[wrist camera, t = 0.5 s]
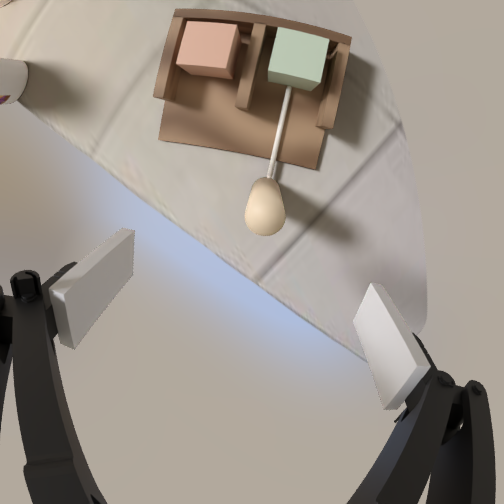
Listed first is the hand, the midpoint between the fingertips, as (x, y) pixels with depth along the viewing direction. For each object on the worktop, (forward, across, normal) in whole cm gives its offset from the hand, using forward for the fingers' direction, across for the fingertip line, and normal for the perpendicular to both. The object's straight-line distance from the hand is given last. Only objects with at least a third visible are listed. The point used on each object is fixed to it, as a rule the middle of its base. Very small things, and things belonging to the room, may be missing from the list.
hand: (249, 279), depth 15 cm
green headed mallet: (+21, 0, +9) cm, 23 cm away
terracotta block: (+20, -8, +16) cm, 27 cm away
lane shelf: (+21, -4, +13) cm, 25 cm away
